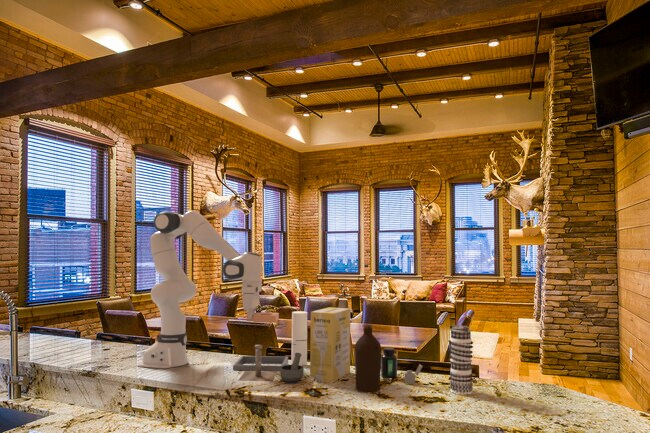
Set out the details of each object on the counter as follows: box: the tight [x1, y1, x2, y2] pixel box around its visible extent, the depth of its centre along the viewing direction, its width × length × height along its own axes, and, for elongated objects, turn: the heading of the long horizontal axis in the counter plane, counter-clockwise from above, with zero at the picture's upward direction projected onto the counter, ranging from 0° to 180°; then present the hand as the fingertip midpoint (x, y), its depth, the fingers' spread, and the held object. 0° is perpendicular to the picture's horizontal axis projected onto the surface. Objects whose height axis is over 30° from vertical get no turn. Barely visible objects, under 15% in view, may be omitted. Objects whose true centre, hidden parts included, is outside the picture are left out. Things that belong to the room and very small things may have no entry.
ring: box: [246, 312, 280, 324], centre depth 216 cm, size 14×10×3 cm
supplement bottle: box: [380, 347, 398, 379], centre depth 203 cm, size 7×7×12 cm
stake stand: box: [237, 344, 278, 382], centre depth 197 cm, size 14×14×14 cm
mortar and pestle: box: [279, 353, 305, 384], centre depth 190 cm, size 11×9×12 cm
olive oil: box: [353, 323, 383, 393], centre depth 186 cm, size 11×11×25 cm
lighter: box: [404, 363, 423, 385], centre depth 192 cm, size 7×2×8 cm, turn 75°
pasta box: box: [309, 306, 351, 384], centre depth 204 cm, size 18×10×28 cm, turn 154°
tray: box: [232, 355, 289, 372], centre depth 215 cm, size 22×18×4 cm
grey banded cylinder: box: [448, 324, 474, 395], centre depth 183 cm, size 9×9×25 cm
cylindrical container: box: [290, 310, 308, 367], centre depth 219 cm, size 7×7×25 cm
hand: (251, 318), depth 216 cm, fingers closed on ring, 4 cm apart
